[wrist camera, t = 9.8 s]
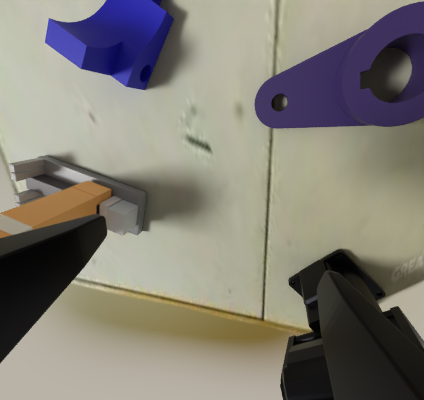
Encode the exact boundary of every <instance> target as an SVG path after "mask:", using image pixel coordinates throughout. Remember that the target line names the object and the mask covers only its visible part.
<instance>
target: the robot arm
mask: <svg viewBox="0 0 424 400" xmlns="http://www.w3.org/2000/svg"><path fill="white" fill-rule="evenodd" d="M106 236H107V225H106V218H105V217H104V216H102V215H98V214H93V215H89V216H85V217H81V218H77V219H73V220H69V221H65V222H61V223H57V224H53V225H50V226H46V227H42V228H38V229H34V230H30V231H26V232H22V233H18V234H14V235H10V236H7V237H3V238H0V363H1V362H2V361H3V360H4V358H5V357H6V356H7V355H8V354H9V353H10V351H11V350H12V349H13V348H14V347H15V346H16V345H17V343H18V342H19V341H20V340H21V339H22V338H23V337H24V335H25V334H26V333H27V332H28V331H29V330H30V329H31V328H32V326H33V325H34V324H35V323H36V322H37V321H38V320H39V318H40V317H41V316H42V315H43V314H44V312H46V310H47V309H48V308H49V307H50V306H51V305H52V304H53V302H54V301H55V300H56V299H57V298H58V297H59V296H60V294H61V293H62V292H63V291H64V290H65V289H66V288H67V286H68V285H69V284H70V283H71V282H72V281H73V280H74V278H75V277H76V276H77V275H78V274H79V273H80V271H81V270H82V269H83V268H84V267H85V265H86V264H87V263H88V261H89V260H90V259H91V257H92V256H93V254H94V253H95V252H96V250H97V249H98V247H99V246H100V245H101V243H102V242H103V241H104V239H105V238H106ZM340 254H341V256H338V255H340ZM288 281H289V285H290V286H291V287H292V288H293V289H294V290H295V291H296V292H297V293H299V294H300V295H301V296H302V297H303V300H304V304H305V306H306V312H307V318H308V324H309V327H310V328H311V329H312V332H310V333H306V334H303V335H300V336H295V335H294V336H291V337H289V340H288V345H287V349H286V354H285V360H284V364H283V369H282V373H281V384H280V387H281V391H282V397H283V400H424V341H423V339H422V338H421V337H420V335H419V334H418V333H417V331H416V330H415V328H414V327H413V326H412V325H411V323H410V322H409V320H408V319H407V318H406V316H405V315H404V314H403V313H402V311H401V309H400V308H399V307H398V306H397V307H393V308H390V310H388V311H385V312H382V310H381V308H380V307H379V305H378V303H377V301H376V300H378V299H381V298H383V297H385V292H384V290H383V289H382V288H381V287H380V286H379V285H378V284H377V283H376V282H375V281H374V280H373V279H372V278H371V277H370V276H369V275H368V274H367V273H366V272H365V271H364V270H362V269H361V268H360V267H359V266H358V265H357V264H356V263H355V262H354V261H353V260H352V259H351V258H350V257H349V256H348V255H347V254H346V253H345V252H344V251H342V250H336V251H334V252H333V253H331V254H329V255H328V256H326V257H324V258H322V259H321V260H318V261H316V262H315V263H313V264H311V265H310V266H308V267H306V268H305V269H303V270H301V271H300V272H299V273H297V274H296V275H294V276H292V277H290V278H289V280H288ZM292 282H294V283H292ZM378 292H380V293H378Z"/></svg>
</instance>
